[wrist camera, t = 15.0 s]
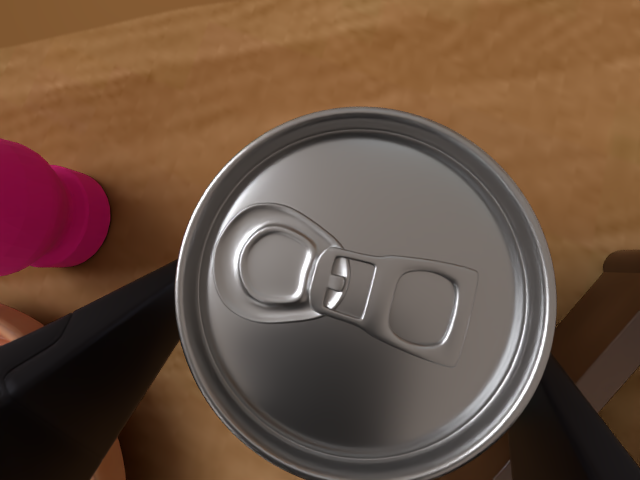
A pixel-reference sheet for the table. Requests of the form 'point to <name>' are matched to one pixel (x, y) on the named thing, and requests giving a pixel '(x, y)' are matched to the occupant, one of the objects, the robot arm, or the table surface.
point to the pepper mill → (47, 212)
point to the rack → (586, 351)
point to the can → (365, 297)
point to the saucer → (12, 324)
